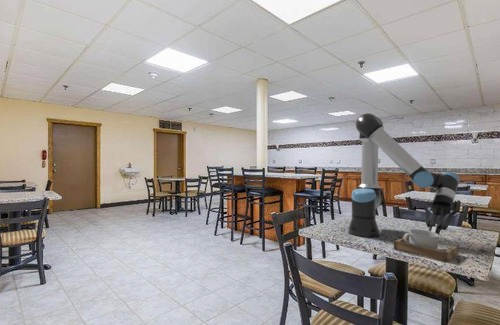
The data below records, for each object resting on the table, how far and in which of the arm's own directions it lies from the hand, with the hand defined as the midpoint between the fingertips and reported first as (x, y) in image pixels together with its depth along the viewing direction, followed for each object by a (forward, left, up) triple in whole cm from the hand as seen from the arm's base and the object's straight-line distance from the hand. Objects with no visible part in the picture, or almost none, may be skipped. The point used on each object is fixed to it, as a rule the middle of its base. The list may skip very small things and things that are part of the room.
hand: (431, 240), depth 117 cm
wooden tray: (-4, -6, -4) cm, 8 cm away
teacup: (-6, -5, -4) cm, 9 cm away
